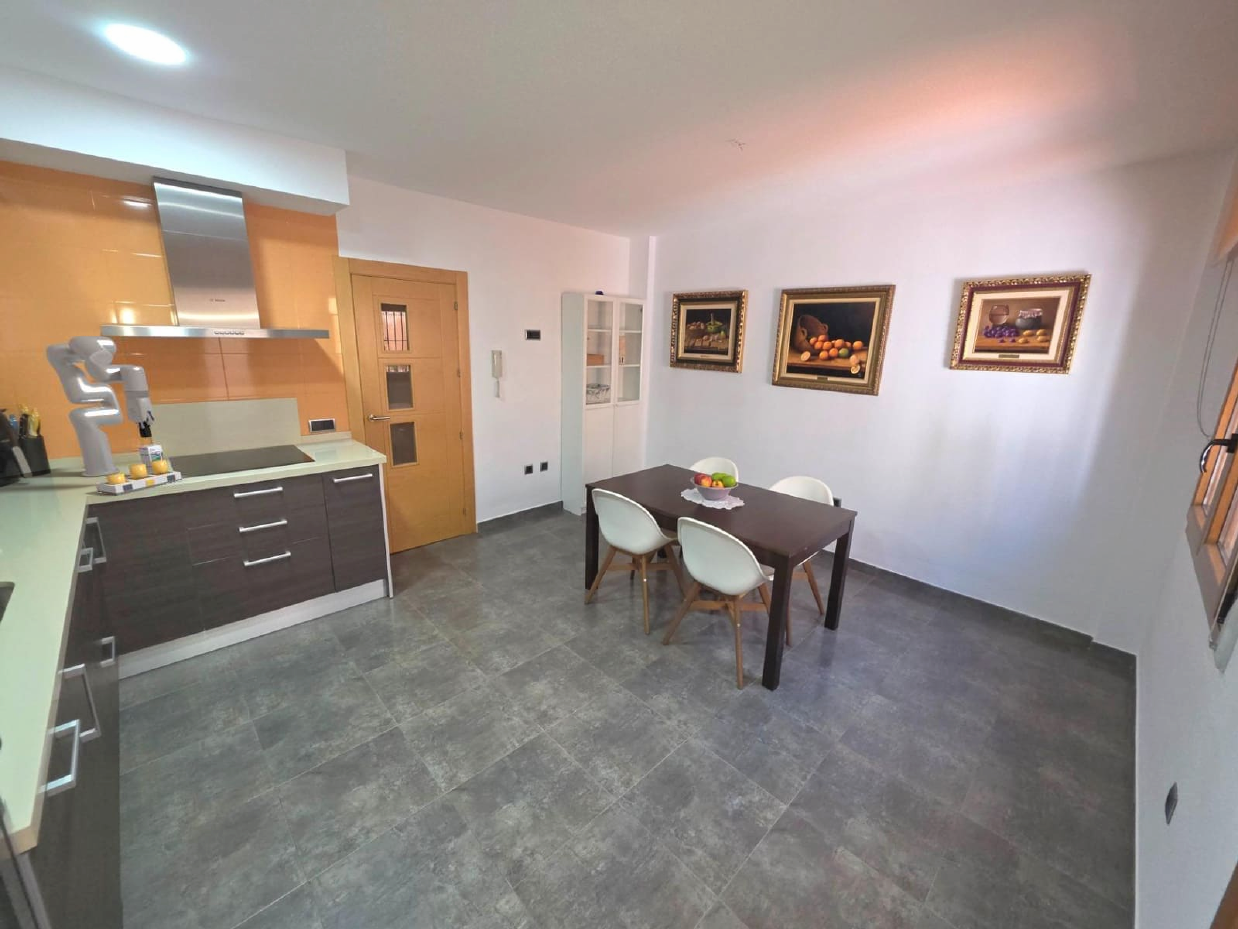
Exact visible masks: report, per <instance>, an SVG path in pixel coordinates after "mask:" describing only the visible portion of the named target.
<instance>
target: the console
mask: <svg viewBox="0 0 1238 929" xmlns="http://www.w3.org/2000/svg"><path fill="white" fill-rule="evenodd" d="M168 472H169V473H168V474H163V475H158V476H157V475H153V472H149V473H147V475H148V478H144V479H140V480H132V479H131V475H130V476H126V477H125V480H126V482H125V483H121V484H116V485H109V484H108V480H107V481H101V482H97V483H95V488H96V491H98V492H102V493H101V494H103V493H106V494H105V495H110V496H111V495H112V496H115V497H116V496H121V495H126V494H130V493H135V492H139V491H143V490H147V489H151V488H156V486H157V487H161V486H164V485H163V484H165V485H167V484H166V483H170V484H172V482H174V483H176V482H175V481H178V480H182V481H183V478H182V474H181V472H180V471H174V470H168ZM178 482H179V481H178ZM160 485H161V486H160ZM98 492H97V493H98Z"/></svg>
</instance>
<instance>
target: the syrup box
mask: <svg viewBox="0 0 1238 929" xmlns="http://www.w3.org/2000/svg"><path fill="white" fill-rule="evenodd" d="M137 448H138V453H139V456H140V460H141V464H145V466H146V470H147V473H149V472H152V467H151V463H150V462H152V461H156V460H165V458H164V454H163V453H164V452H163V448H162V444H148V445H143V446H138V447H137Z"/></svg>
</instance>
